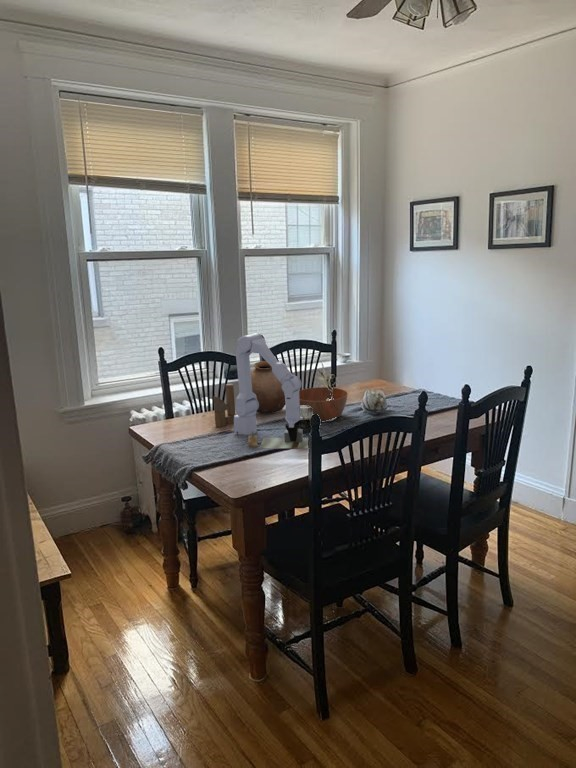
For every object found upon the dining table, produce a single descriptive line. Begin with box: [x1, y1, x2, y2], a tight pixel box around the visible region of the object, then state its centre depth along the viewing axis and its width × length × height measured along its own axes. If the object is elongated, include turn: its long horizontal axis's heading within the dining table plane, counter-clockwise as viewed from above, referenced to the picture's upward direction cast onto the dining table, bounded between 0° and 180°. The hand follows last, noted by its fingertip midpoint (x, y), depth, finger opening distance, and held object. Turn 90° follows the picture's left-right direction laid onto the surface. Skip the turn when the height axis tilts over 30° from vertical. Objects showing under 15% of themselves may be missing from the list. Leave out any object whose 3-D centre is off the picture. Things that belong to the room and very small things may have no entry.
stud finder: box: [283, 428, 304, 442], centre depth 231 cm, size 7×4×4 cm, turn 83°
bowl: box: [299, 386, 349, 423], centre depth 263 cm, size 25×25×11 cm
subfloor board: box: [259, 437, 309, 449], centre depth 229 cm, size 20×12×1 cm, turn 84°
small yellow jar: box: [247, 432, 259, 448], centre depth 227 cm, size 4×4×7 cm
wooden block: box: [212, 383, 238, 428], centre depth 259 cm, size 4×11×18 cm, turn 140°
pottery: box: [251, 360, 286, 415], centre depth 273 cm, size 23×23×25 cm
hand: (293, 438), depth 232 cm, fingers closed on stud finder, 4 cm apart
